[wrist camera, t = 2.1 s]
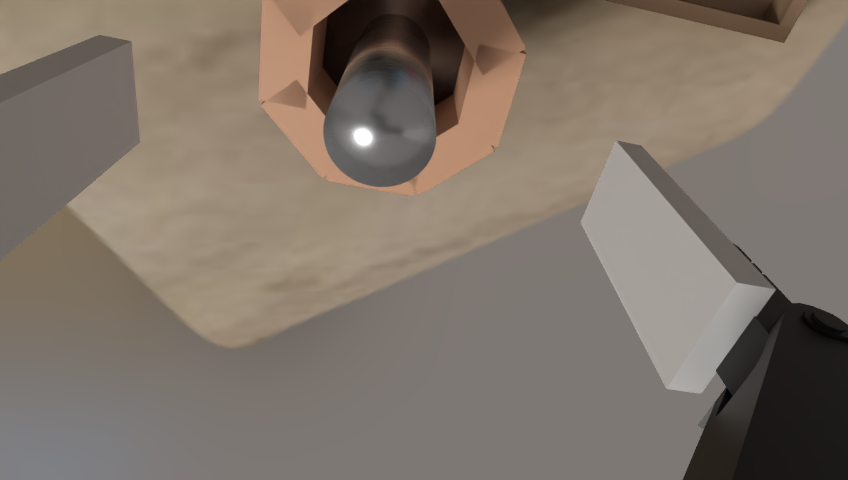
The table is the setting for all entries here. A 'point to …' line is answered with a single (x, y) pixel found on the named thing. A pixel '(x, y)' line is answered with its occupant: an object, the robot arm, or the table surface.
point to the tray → (732, 14)
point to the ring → (455, 116)
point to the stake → (387, 86)
